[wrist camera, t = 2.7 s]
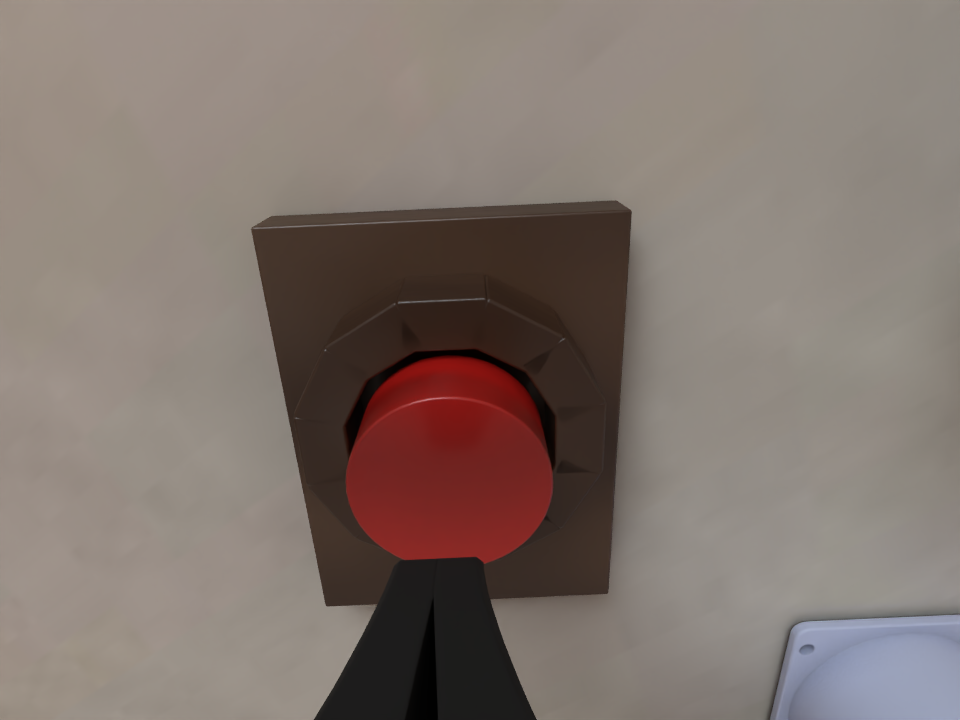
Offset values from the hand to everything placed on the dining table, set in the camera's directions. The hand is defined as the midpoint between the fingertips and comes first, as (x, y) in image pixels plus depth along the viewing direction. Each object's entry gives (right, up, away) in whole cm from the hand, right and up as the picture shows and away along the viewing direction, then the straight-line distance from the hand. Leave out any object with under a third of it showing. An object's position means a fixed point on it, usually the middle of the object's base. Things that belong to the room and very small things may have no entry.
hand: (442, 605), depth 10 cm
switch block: (0, +2, +8) cm, 8 cm away
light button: (0, +2, +5) cm, 5 cm away
